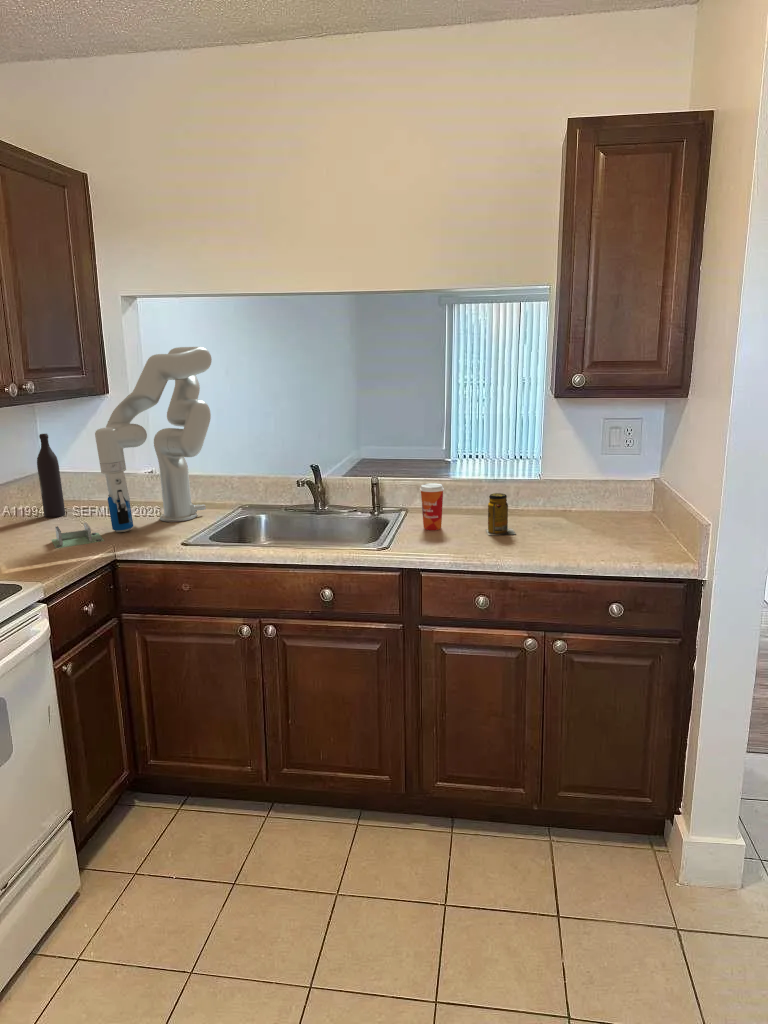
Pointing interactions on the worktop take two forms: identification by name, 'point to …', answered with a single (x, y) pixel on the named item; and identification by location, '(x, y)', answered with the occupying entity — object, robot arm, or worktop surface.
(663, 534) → the worktop surface
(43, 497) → the wine bottle
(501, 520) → the condiment
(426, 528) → the paper cup
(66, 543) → the deck plate
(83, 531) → the bracket
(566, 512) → the worktop surface
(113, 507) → the beverage can
